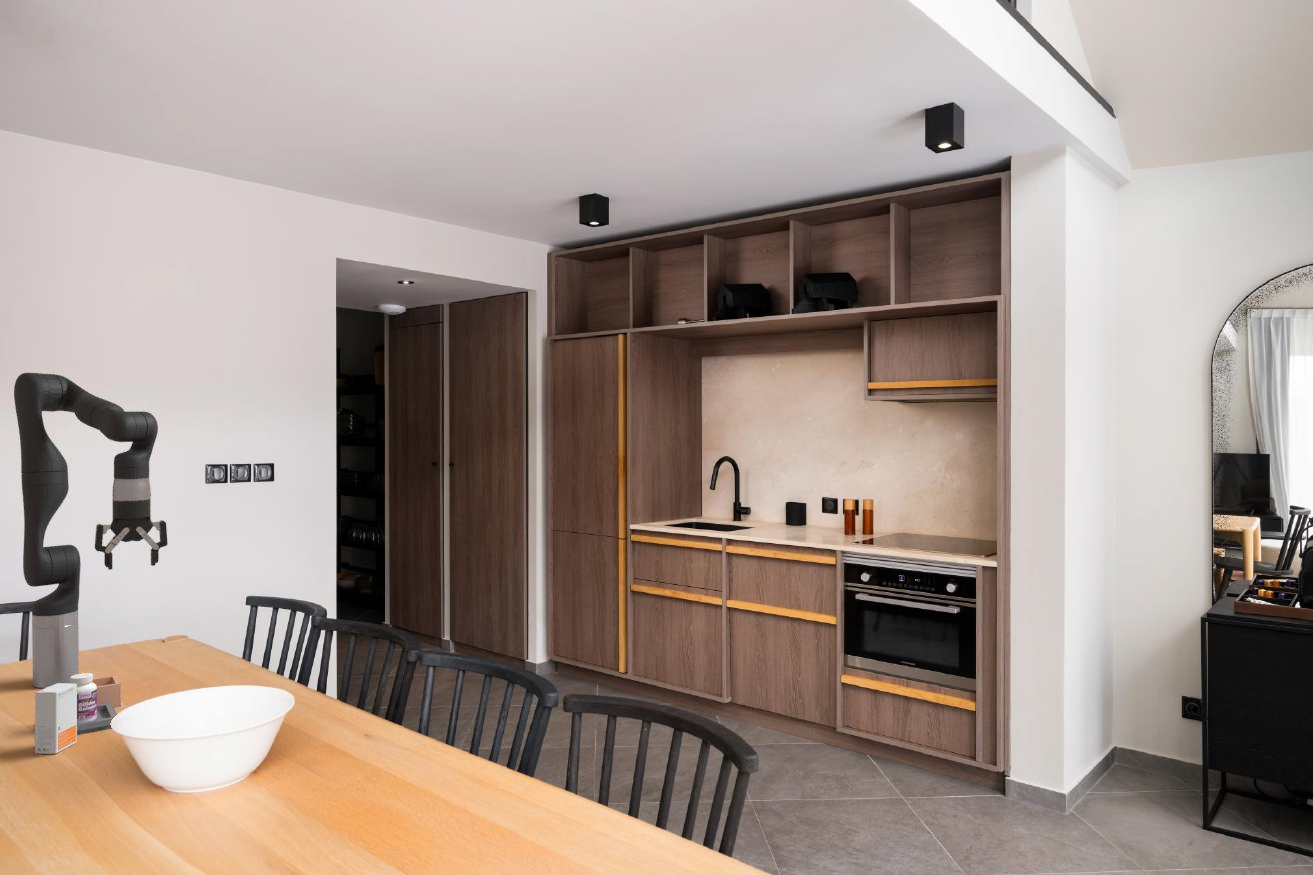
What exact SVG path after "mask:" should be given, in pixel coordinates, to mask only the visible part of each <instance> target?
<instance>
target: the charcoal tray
mask: <svg viewBox="0 0 1313 875" xmlns="http://www.w3.org/2000/svg"><path fill="white" fill-rule="evenodd" d="M116 715H118V713H117V711H116V708H115V707H113V704H112V702H111V703H105V704H99V705H97V718H96V719H95V720H93V721H87V722H82V723H77V736H78V735H84V734H89V733H93V732H94V733H95V732H99V731H104V730H109V729H110V730H111V729H112V728H111V725H110V723H111V720H112V719H113V718H114V717H115V716H116Z"/></svg>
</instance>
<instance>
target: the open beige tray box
mask: <svg viewBox="0 0 1313 875" xmlns="http://www.w3.org/2000/svg"><path fill="white" fill-rule="evenodd" d="M92 683H94V684H96V686H97V705H99V704H105V703H111V702H112V704H113V707H114V708H116V707H121V706H122V705H121V704H122V703H121V702H122V700H121V695H122V694H121V691H122V690H121V687H122V686H121V682H120V680H119V679H118V676H117V675H115V674H114V675H109V676H102V677H93V681H92Z"/></svg>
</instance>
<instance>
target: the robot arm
mask: <svg viewBox="0 0 1313 875" xmlns="http://www.w3.org/2000/svg"><path fill="white" fill-rule="evenodd" d="M13 397H14V407H15V414H16V420H17V425H18V432H19V434H18V435H19V440H20V441H19V442H20V443H19V444H20V461H21V462H20V465H21V466H20V468H21V469H20V472H21V475H20V476H21V478H20V479H21V492H22V501H23V502H22V503H23V505H22V506H23V520H24V521H23V524H24V529H23V551H22V552H23V554H22V555H23V556H22V560H23V561H22V568H23V569H22V570H23V576H24V580H25V582H26V584H27V585H28V586H30V587H32V588H33V587H35V588H36V587H45V586H50V585H51V586H52V585H57V587H56V588H55V589H54V590H53V591H52V592H51V593H49V594H47V595H45V596H44V597H41V598H39V599H36V600H35V601H34V602H33V603H32V605H31V639H32V640H31V645H32V650H31V651H32V652H31V653H32V656H31V658H32V686H33V687H34V688H40V689H41V688H42V689H45V688H47V687H49V686H52V685H55V684H57V683H70V677H71V676H73V675H76V674H80V666H79V665H80V658H79V657H80V654H79V653H80V648H79V647H80V646H79V645H80V644H79V643H80V642H79V638H80V637H79V636H80V635H79V602H80V600H79V599H80V582H81V581H80V580H81V556H80V551H79V549H78V548H77V546H76V545H72V544H62V545H52V546H44V543H45V542H44V540H45V534H46V531H47V528H48V526H49V524H50V522H51V520H52V519H53V517H54V516H55V514H56V513H57V511H58V510H59V509H60V507H61V506H62V504H63V502H64V501H65V499H66V498H67V496H68V493H69V487H70V486H69V468H68V463H67V460H66V459H65V457H64V455H63V454H62V452H61V451H60V450H59V448H58V447H57V446H56V444H55V443H54V442H53V441H52V439H51V438H50V436H49V435H48V433H47V431H46V429H45V424H44V419H43V412H52V413H54V412H67V413H69V412H70V413H74V415H75V417H76V419H77V420H78V421H80V422H81V423H82V424H84V425H86V426H89V427H91V428H93V429H96V430H98V431H99V432H100V433H101V434H102V435H104V437H106V439H108V440H110V441H112V442H117V443H131V444H130V445H131V446H130V447H129V449H128V450H127V451H123V452H119V453H117V454H116V455H115V456H114V458H113V483H112V496H111V497H112V521H111V523H110V524H101V523H97V524H96V526H95V537H94V538H95V539H94V549H95V551H96V552H99V553H100V552H101V553H103V554H104V557H103V558H104V561H103V562H104V566H105V568H108V570H113V553H112V551H113V550H114V549H115V548H116V547H117V546H118V545H119V543H120V542H124V543H129V542H141V541H142V540H144V541H145V542H147V544H148V545H149V546H150V547H151V549H150V566H152V567H154V566H156V564H157V563H159V560H160V559H159V557H160V556H159V555H160V554H159V550H160V549H161V548H163V547H167V546H168V532H167V531H168V530H167V528H168V527H167V522H166V521H165V520H163V519H162V520H159V521H152V519H151V518H152V516H151V509H152V508H151V505H152V504H151V503H152V502H151V498H152V492H151V482H150V460H151V457H152V453H153V450H154V446H155V442H156V440H157V436H158V432H159V425H158V422H157V419H156V417H155V416H154V415H153V414H152V413H150V411H149V412H148V411H125V409H124V408H123V407H121V406H120V405H119V404H116V403H114V402H112V401H109V400H107V399H103V398H101V397H98V396H96V395H94V394H92V393H90V392H89V391H87V390H85V389H84V388H82V387H81V386H79V385H78V384H77V383H75V382H74V381H72V380H71V379H69V378H68V377H66V376H63V375H60V374H54V373H53V374H52V373H38V372H23V373H21V374H19V375H18V376H17V378H16V380H15V383H14V388H13ZM153 527H155V530H156V531H159V532H158V533H159V541H157V542H155V540H154V539H153V538H152V537H151V536H150V535H149V533H150V532H151V530H152V529H153ZM108 530H111V532H112V533H113V534H114V536H113V537H112V538H111V539H110V540H109V542H108V543H107V545H106V546H105V545H103V540H104V538H103V536H104V535H105V534H107V532H108Z"/></svg>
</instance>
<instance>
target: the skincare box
mask: <svg viewBox="0 0 1313 875" xmlns="http://www.w3.org/2000/svg"><path fill="white" fill-rule="evenodd" d="M34 694H35V696H34V697H35V698H34V701H35V705H34V706H35V707H34V708H35V709H34V711H35V713H34V718H35V719H34V720H35V721H34V724H35V726H34V731H35V732H34V735H35V736H34V739H35V740H34V748H35V749H34V752H35V754H37V753H38V755H39V754H41V755H44V754H45V755H47V754H48V755H57V754H58V753H59V752H61V751H62V752H63V750H65V749H67V748H69V747H72V746H73V745H75V744H77V742H78V741H77V740H78V739H77V738H78V735H77V684H72V683H57V684H55V685H52V686H49V687H47V688H42V689H41V690H38V691H36V692H35V693H34Z"/></svg>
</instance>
